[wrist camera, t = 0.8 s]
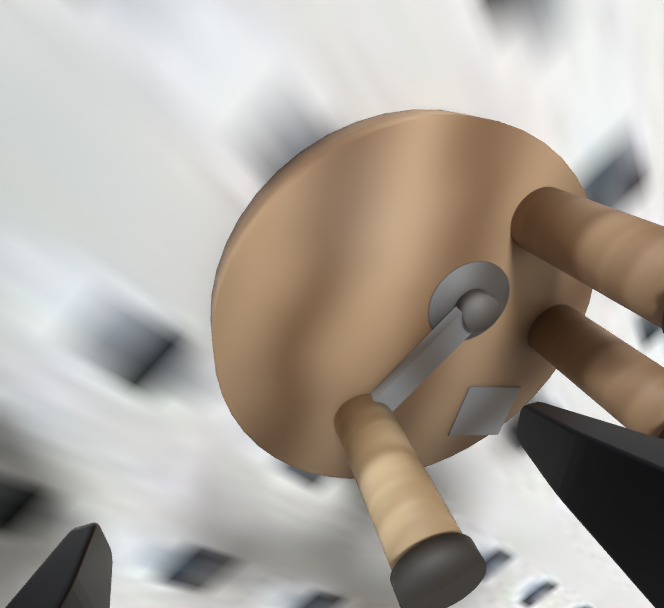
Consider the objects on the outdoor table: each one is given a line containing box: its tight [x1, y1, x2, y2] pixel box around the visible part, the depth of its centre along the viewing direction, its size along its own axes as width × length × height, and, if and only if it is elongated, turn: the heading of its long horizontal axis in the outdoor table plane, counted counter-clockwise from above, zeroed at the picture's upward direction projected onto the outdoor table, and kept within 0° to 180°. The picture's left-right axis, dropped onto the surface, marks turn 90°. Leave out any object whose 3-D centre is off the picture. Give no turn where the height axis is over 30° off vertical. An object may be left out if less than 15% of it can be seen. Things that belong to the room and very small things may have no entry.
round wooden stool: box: [211, 110, 664, 479], centre depth 19 cm, size 20×20×11 cm
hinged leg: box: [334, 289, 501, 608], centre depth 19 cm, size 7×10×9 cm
